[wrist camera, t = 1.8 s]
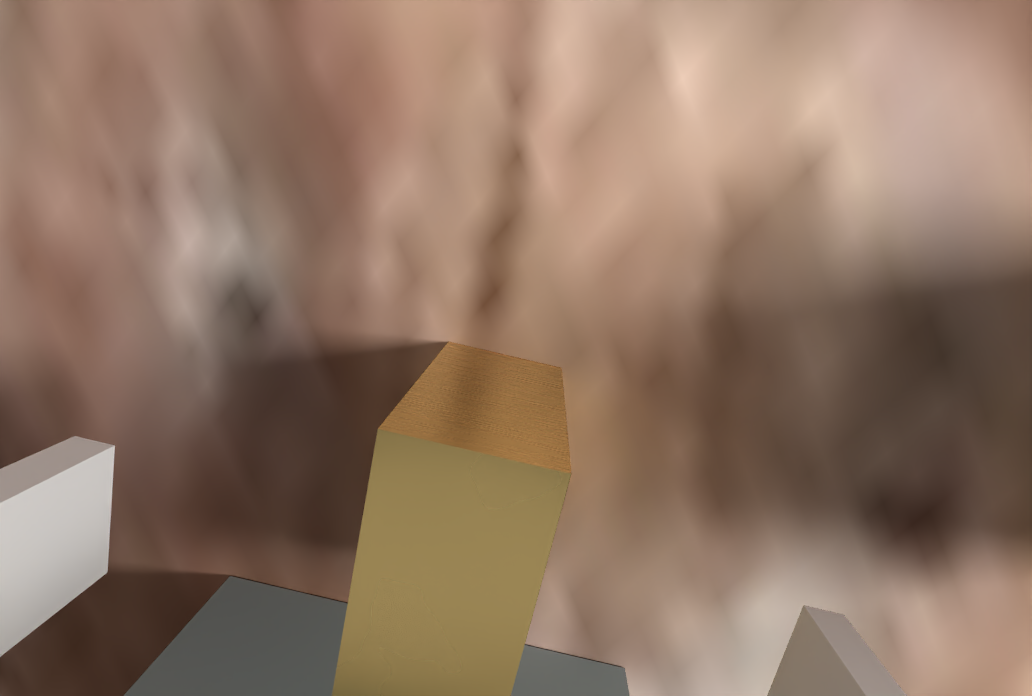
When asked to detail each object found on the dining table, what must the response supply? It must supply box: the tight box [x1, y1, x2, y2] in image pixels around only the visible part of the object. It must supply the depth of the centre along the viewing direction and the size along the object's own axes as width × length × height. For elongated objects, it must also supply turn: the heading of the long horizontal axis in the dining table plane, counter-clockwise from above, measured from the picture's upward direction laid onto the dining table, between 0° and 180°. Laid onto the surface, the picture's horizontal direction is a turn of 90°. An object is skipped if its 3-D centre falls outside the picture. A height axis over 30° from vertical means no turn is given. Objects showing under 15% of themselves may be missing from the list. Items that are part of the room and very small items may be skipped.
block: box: [332, 342, 571, 696], centre depth 12 cm, size 6×3×6 cm, turn 167°
